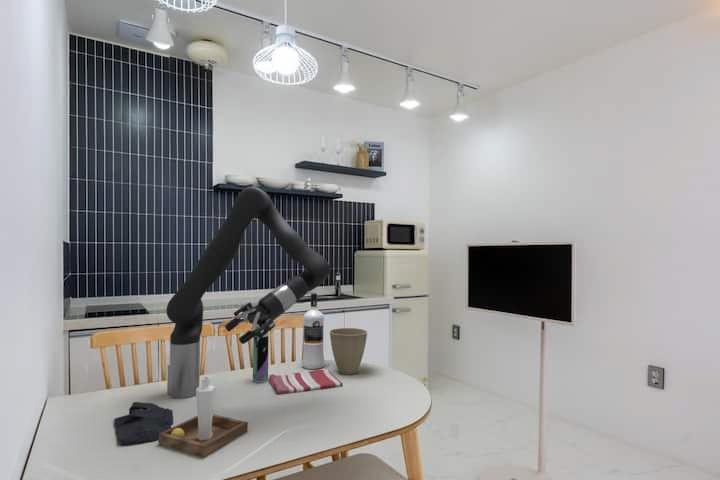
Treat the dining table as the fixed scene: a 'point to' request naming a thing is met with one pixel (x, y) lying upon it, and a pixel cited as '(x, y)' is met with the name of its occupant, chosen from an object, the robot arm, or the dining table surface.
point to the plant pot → (348, 348)
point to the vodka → (313, 337)
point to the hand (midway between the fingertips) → (233, 335)
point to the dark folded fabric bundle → (143, 423)
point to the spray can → (260, 358)
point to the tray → (222, 435)
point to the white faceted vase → (205, 409)
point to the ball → (178, 432)
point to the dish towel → (304, 381)
